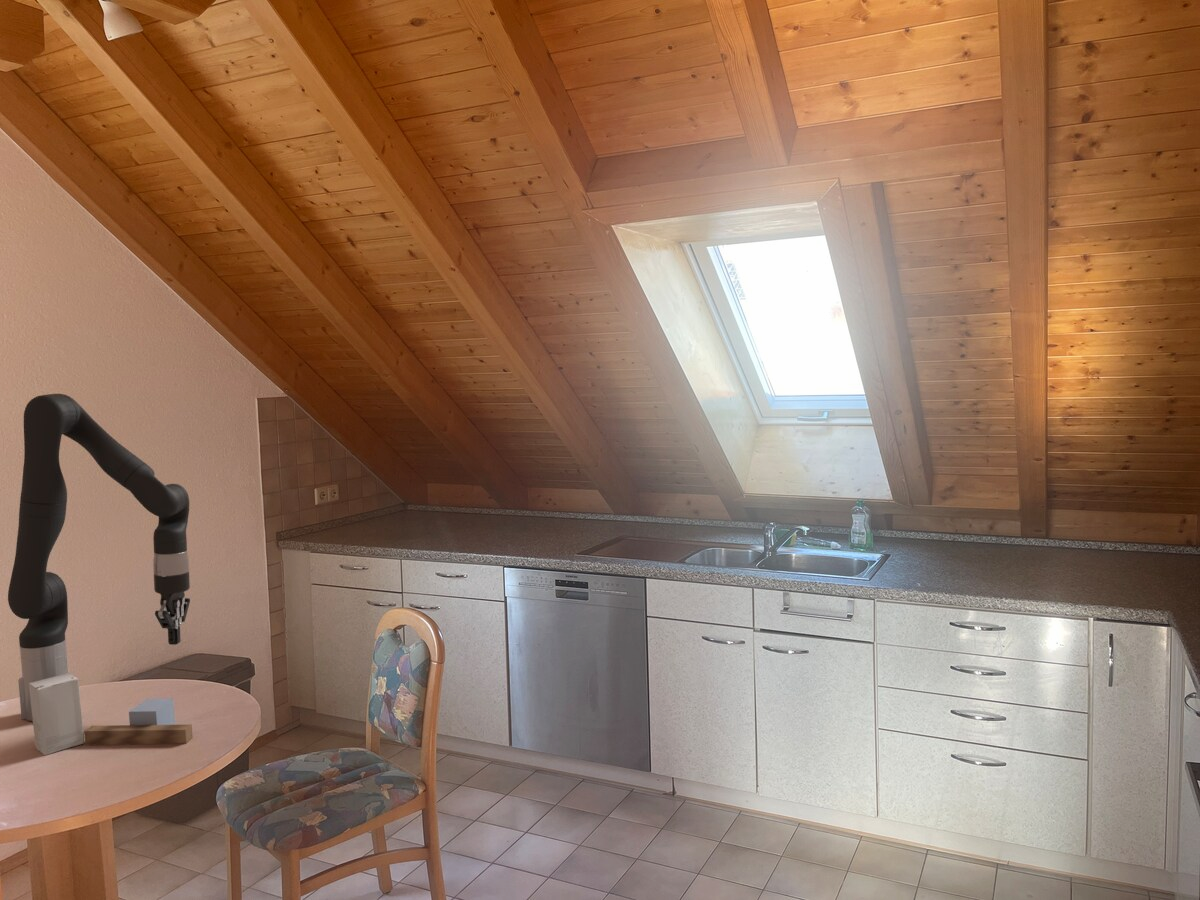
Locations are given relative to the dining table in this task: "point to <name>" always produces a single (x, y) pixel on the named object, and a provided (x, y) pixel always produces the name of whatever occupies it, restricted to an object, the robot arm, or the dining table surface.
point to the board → (138, 734)
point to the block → (153, 712)
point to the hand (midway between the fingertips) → (174, 643)
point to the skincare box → (56, 713)
